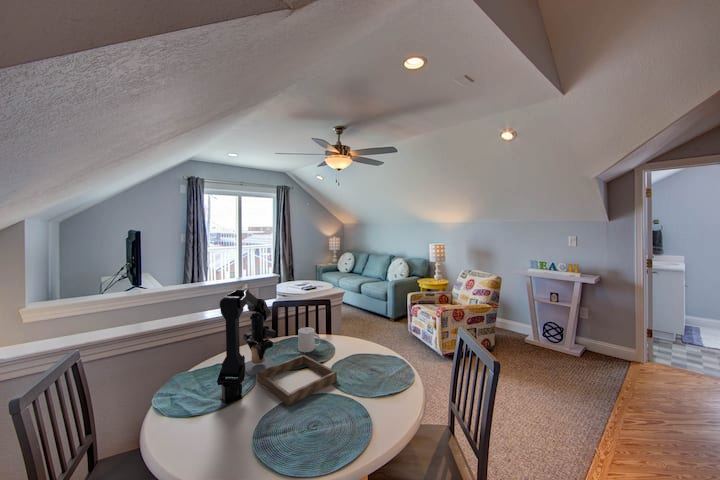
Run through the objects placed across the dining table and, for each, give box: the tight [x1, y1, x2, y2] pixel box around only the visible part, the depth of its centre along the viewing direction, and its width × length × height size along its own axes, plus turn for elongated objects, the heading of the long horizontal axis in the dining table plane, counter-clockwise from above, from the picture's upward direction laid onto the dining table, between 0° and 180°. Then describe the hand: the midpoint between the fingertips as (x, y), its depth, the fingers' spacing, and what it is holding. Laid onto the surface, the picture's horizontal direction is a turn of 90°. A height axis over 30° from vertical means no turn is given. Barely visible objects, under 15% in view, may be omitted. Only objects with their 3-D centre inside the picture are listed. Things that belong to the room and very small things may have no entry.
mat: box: [245, 355, 279, 377], centre depth 144 cm, size 14×14×1 cm
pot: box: [251, 344, 266, 364], centre depth 143 cm, size 6×6×7 cm
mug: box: [297, 326, 321, 354], centre depth 161 cm, size 9×12×11 cm
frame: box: [256, 354, 338, 407], centre depth 130 cm, size 24×24×4 cm
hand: (258, 357), depth 143 cm, fingers closed on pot, 6 cm apart
